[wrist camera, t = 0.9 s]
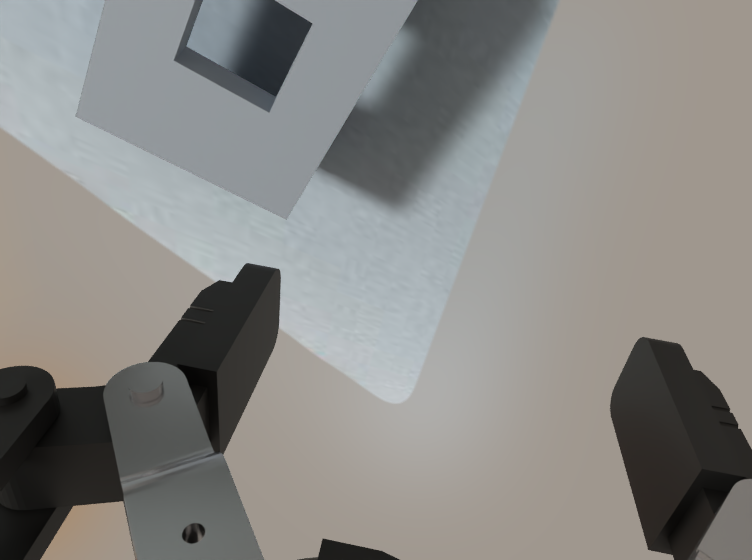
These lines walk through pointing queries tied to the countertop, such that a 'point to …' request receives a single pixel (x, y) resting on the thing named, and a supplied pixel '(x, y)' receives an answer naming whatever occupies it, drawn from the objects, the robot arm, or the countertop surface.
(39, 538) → the robot arm
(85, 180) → the countertop surface
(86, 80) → the bridge
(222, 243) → the countertop surface
